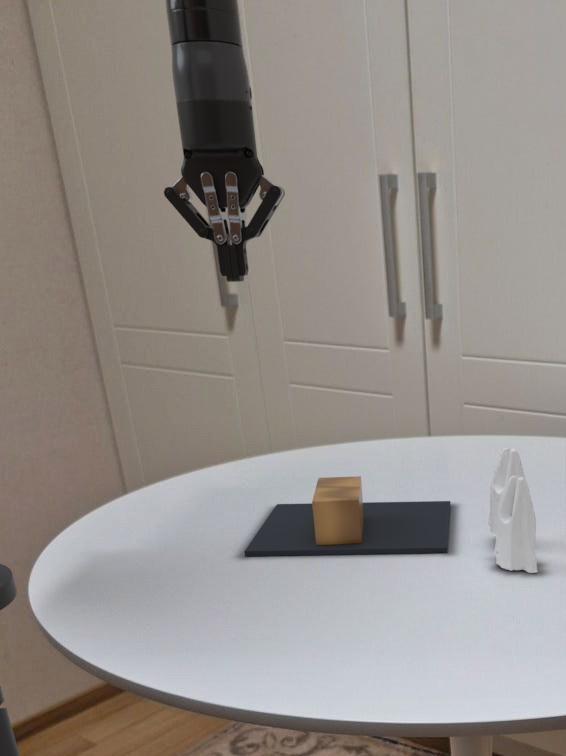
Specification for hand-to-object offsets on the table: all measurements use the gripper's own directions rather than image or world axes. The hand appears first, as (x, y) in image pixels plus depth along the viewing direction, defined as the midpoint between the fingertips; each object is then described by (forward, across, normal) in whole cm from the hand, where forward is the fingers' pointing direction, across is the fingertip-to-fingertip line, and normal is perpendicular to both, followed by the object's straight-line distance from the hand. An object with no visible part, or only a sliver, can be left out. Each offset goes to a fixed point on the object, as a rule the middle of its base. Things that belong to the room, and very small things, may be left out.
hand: (235, 281), depth 99 cm
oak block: (+24, +10, -3) cm, 26 cm away
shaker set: (+27, +30, -16) cm, 44 cm away
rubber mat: (+27, +12, -6) cm, 30 cm away
